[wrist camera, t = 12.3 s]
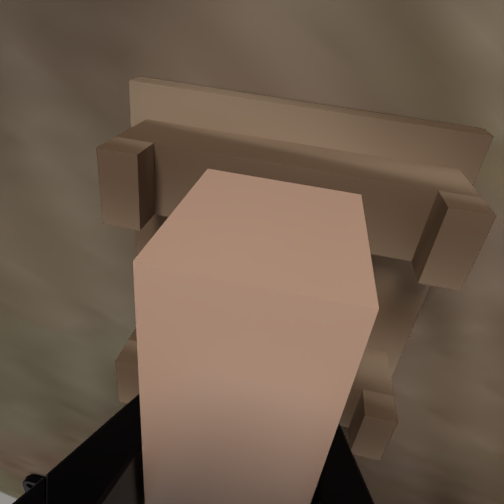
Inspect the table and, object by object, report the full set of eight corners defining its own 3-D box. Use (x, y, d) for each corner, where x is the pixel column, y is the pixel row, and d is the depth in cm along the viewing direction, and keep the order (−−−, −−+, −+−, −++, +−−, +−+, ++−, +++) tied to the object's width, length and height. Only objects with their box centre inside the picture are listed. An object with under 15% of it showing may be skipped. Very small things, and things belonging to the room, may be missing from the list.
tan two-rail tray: (376, 392, 17) (386, 481, 14) (148, 343, 18) (107, 416, 15) (484, 128, 11) (543, 175, 8) (140, 76, 12) (70, 99, 9)
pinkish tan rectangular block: (282, 485, 13) (267, 626, 10) (191, 463, 13) (149, 594, 10) (361, 194, 8) (378, 308, 5) (207, 168, 8) (132, 261, 5)
